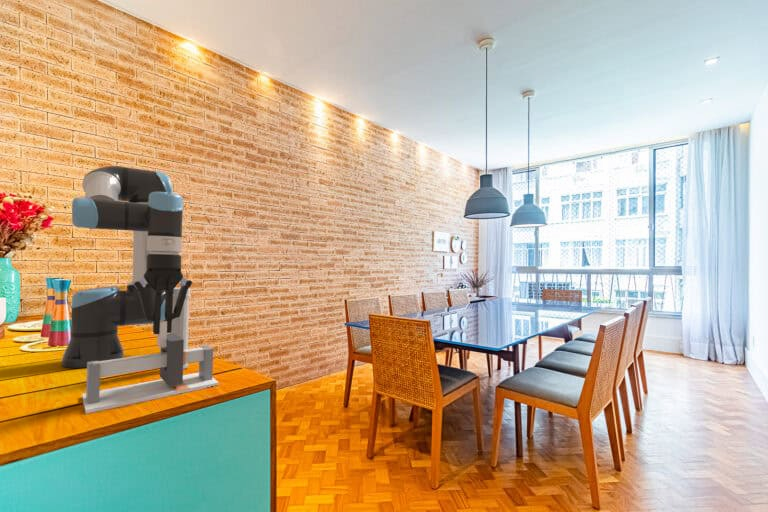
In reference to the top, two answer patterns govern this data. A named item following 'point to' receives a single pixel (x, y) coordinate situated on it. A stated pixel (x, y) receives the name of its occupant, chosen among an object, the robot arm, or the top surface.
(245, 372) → the top surface
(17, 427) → the top surface
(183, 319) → the pipe
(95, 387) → the rail
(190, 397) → the top surface
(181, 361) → the collar
